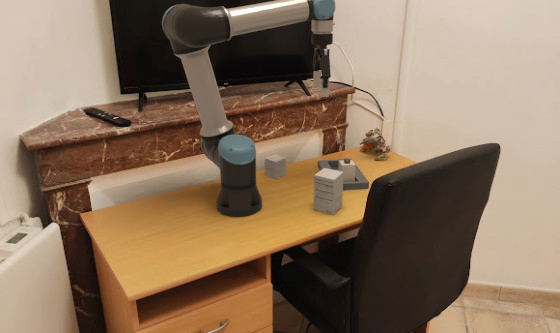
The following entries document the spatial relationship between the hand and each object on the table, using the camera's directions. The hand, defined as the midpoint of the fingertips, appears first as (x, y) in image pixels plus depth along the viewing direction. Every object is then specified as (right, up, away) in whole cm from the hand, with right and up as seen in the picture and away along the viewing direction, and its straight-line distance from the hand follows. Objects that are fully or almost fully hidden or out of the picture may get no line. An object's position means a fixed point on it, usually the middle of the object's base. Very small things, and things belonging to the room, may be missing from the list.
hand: (320, 92), depth 172 cm
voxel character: (+24, -23, +28) cm, 44 cm away
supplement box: (+1, -41, -17) cm, 45 cm away
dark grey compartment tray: (+9, -31, +7) cm, 33 cm away
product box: (-17, -31, +9) cm, 36 cm away
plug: (+10, -33, +2) cm, 35 cm away
